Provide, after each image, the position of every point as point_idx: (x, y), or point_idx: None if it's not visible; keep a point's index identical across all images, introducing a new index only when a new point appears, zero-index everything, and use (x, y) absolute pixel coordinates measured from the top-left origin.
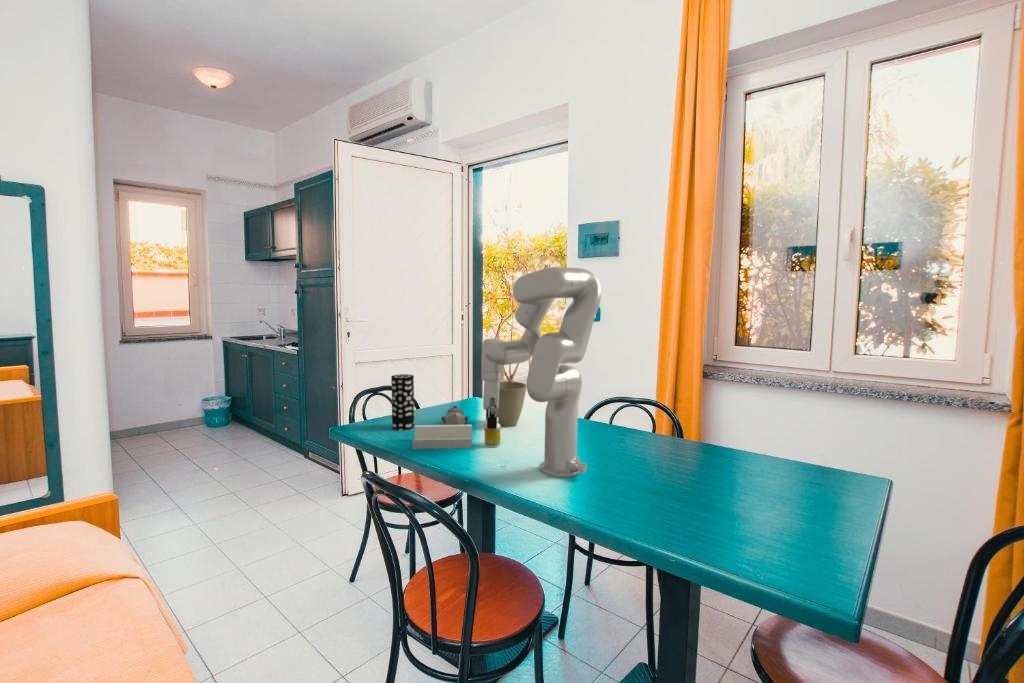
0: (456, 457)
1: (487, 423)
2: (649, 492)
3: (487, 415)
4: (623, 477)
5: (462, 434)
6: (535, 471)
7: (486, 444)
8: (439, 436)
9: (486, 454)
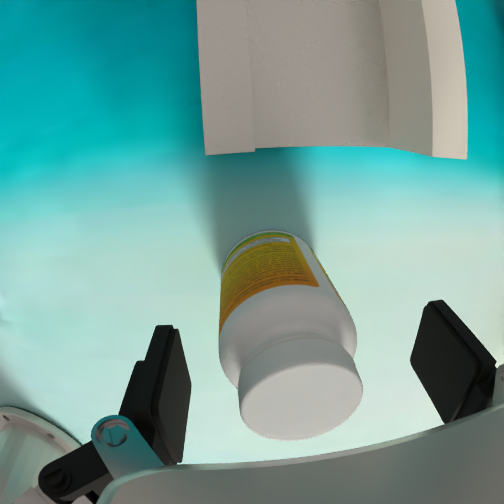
0: (44, 87)
1: (146, 357)
2: None
3: (443, 336)
4: None
5: (396, 81)
6: (6, 395)
7: (237, 246)
8: None
9: (101, 246)
